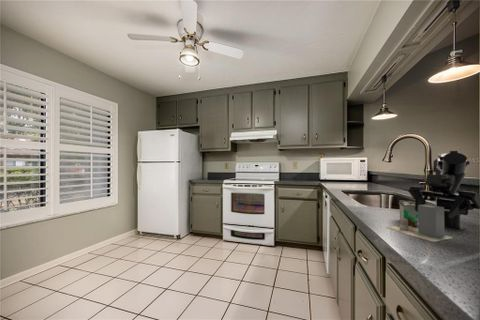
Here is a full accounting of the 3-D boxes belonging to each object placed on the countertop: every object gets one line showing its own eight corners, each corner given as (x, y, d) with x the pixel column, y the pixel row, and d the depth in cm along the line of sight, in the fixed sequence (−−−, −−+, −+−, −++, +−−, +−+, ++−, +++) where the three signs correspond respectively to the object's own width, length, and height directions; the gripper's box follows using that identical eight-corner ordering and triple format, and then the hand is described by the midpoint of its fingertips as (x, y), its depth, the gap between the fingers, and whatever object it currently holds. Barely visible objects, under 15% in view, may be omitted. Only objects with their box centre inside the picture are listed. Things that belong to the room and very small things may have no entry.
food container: (424, 232, 77) (424, 206, 77) (404, 230, 80) (403, 204, 80) (417, 224, 87) (417, 201, 88) (399, 222, 91) (399, 200, 91)
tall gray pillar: (426, 231, 74) (426, 204, 74) (444, 236, 69) (444, 207, 70) (418, 233, 72) (418, 205, 72) (436, 237, 68) (435, 208, 68)
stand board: (404, 227, 82) (404, 215, 82) (453, 240, 68) (453, 225, 68) (385, 230, 79) (385, 217, 79) (433, 244, 64) (433, 229, 65)
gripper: (410, 166, 82) (392, 194, 78) (476, 167, 64) (457, 204, 60) (423, 184, 84) (406, 213, 81) (490, 190, 67) (472, 227, 63)
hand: (431, 213), depth 71 cm, fingers open, 9 cm apart
